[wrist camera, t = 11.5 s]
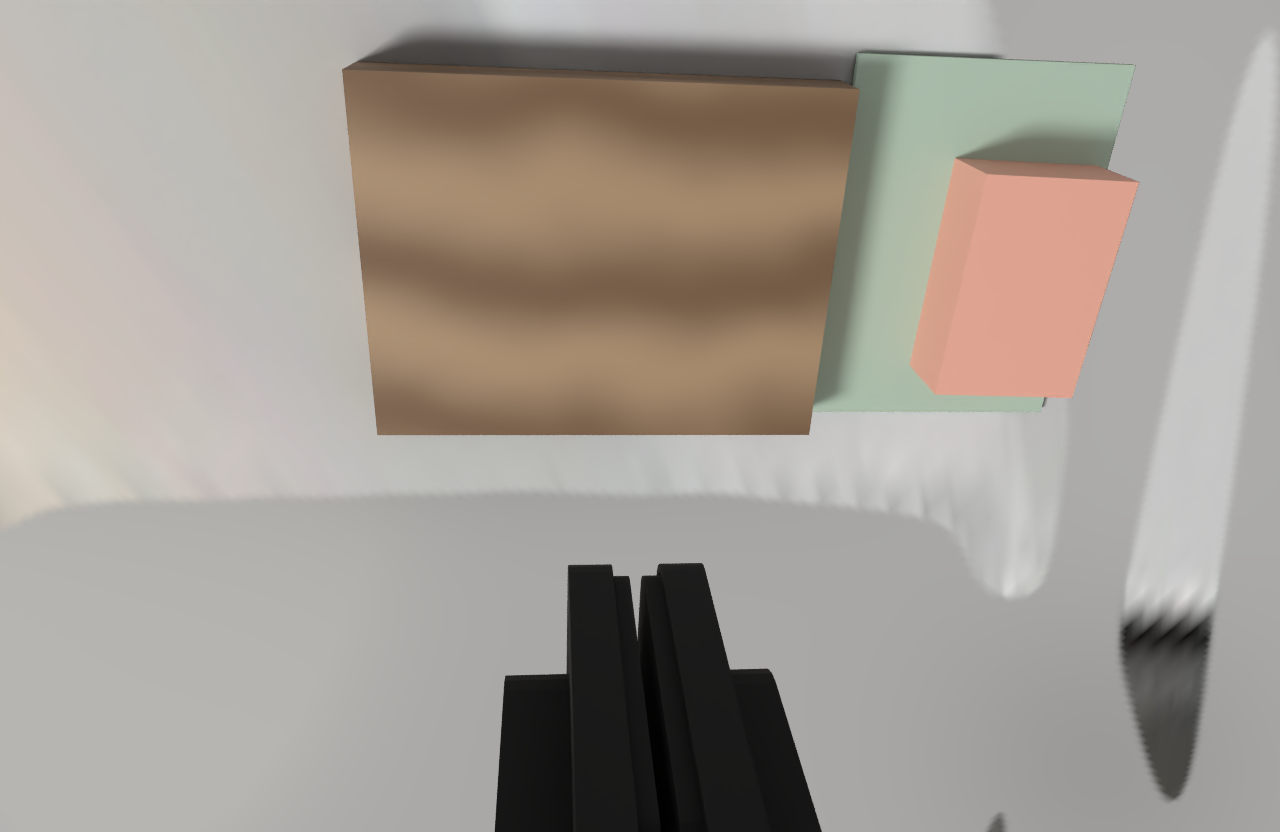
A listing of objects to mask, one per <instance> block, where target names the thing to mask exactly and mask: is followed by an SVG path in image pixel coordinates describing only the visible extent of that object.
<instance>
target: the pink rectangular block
mask: <svg viewBox="0 0 1280 832" xmlns="http://www.w3.org/2000/svg"><path fill="white" fill-rule="evenodd" d="M1138 185H1139V182H1138V181H1135V180H1133V179H1130V178H1127V177H1125V176H1122V175H1120V174H1117V173H1115V172H1112V171H1110V170H1107V169H1104V168H1102V167H1099V166H1097V165H1078V164H1059V163H1040V162H1021V161H1003V160H984V159H965V158H955V160H954V165H953V169H952V174H951V178H950V183H949V188H948V192H947V197H946V201H945V206H944V210H943V215H942V220H941V224H940V229H939V233H938V238H937V242H936V247H935V252H934V256H933V261H932V265H931V270H930V274H929V279H928V283H927V288H926V293H925V297H924V302H923V306H922V311H921V315H920V320H919V325H918V329H917V334H916V338H915V343H914V347H913V352H912V357H911V361H910V366H911V367H912V369H913V370H914V371H915V372H916V373H917V374H918V376H919V377H920V378H921V379H922V380H923V381H924V382H925V384H926V385H927V386H928V387H929V388H930V389H931V390H932V392H933V393H934V394H935V395H973V396H1015V397H1057V398H1072V396H1073V393H1074V390H1075V387H1076V383H1077V380H1078V377H1079V374H1080V371H1081V367H1082V364H1083V361H1084V358H1085V355H1086V351H1087V348H1088V345H1089V342H1090V339H1091V335H1092V332H1093V329H1094V326H1095V323H1096V319H1097V316H1098V313H1099V310H1100V307H1101V303H1102V300H1103V297H1104V294H1105V291H1106V287H1107V284H1108V281H1109V278H1110V275H1111V271H1112V268H1113V265H1114V261H1115V259H1116V255H1117V252H1118V249H1119V246H1120V243H1121V239H1122V236H1123V233H1124V229H1125V227H1126V223H1127V220H1128V217H1129V214H1130V211H1131V207H1132V204H1133V201H1134V197H1135V195H1136V191H1137V188H1138Z"/></svg>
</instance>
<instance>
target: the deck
mask: <svg viewBox="0 0 1280 832" xmlns="http://www.w3.org/2000/svg"><path fill="white" fill-rule="evenodd" d="M342 73H343V83H344V93H345V104H346V114H347V124H348V135H349V145H350V155H351V166H352V176H353V187H354V197H355V207H356V218H357V228H358V238H359V249H360V259H361V270H362V280H363V290H364V301H365V311H366V321H367V332H368V342H369V352H370V363H371V373H372V384H373V394H374V404H375V415H376V425H377V435H809V431H810V424H811V417H812V410H813V404H814V397H815V390H816V383H817V376H818V370H819V363H820V356H821V349H822V343H823V336H824V329H825V322H826V315H827V309H828V302H829V295H830V288H831V282H832V275H833V268H834V261H835V254H836V248H837V241H838V234H839V227H840V221H841V214H842V207H843V200H844V193H845V187H846V180H847V173H848V166H849V159H850V153H851V146H852V139H853V132H854V126H855V119H856V112H857V105H858V98H859V92H860V89H858V88H856V87H854V86H852V85H849V84H847V83H845V82H842V81H840V80H816V79H790V78H765V77H739V76H713V75H687V74H661V73H636V72H610V71H584V70H558V69H533V68H507V67H481V66H455V65H430V64H404V63H378V62H355V63H353V64H351V65H349V66H348V67H346V68H344V69H342Z"/></svg>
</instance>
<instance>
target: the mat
mask: <svg viewBox="0 0 1280 832" xmlns="http://www.w3.org/2000/svg"><path fill="white" fill-rule="evenodd" d="M1135 66H1136V65H1132V64H1109V63H1086V62H1061V61H1037V60H1014V59H991V58H967V57H943V56H919V55H895V54H871V53H857V55H856V62H855V69H854V76H853V83H852V86H854V87H856V88H858V89H860V92H859V98H858V105H857V112H856V119H855V126H854V132H853V139H852V146H851V153H850V159H849V166H848V173H847V180H846V187H845V193H844V200H843V207H842V214H841V221H840V227H839V234H838V241H837V248H836V254H835V261H834V268H833V275H832V282H831V288H830V295H829V302H828V309H827V315H826V322H825V329H824V336H823V343H822V349H821V356H820V363H819V370H818V376H817V383H816V390H815V397H814V404H813V410H812V412H1041V408H1042V405H1043V401H1044V397H1015V396H973V395H935V394H934V393H933V392H932V390H931V389H930V388H929V387H928V386H927V385H926V384H925V382H924V381H923V380H922V379H921V378H920V377H919V376H918V374H917V373H916V372H915V371H914V370H913V369H912V367H911V366H910V361H911V357H912V352H913V347H914V343H915V338H916V334H917V329H918V325H919V320H920V315H921V311H922V306H923V302H924V297H925V293H926V288H927V283H928V279H929V274H930V270H931V265H932V261H933V256H934V252H935V247H936V242H937V238H938V233H939V229H940V224H941V220H942V215H943V210H944V206H945V201H946V197H947V192H948V188H949V183H950V178H951V174H952V169H953V165H954V160H955V158H965V159H984V160H1003V161H1021V162H1040V163H1059V164H1078V165H1097V166H1099V167H1102V168H1104V169H1107V168H1108V165H1109V161H1110V157H1111V154H1112V150H1113V146H1114V143H1115V139H1116V135H1117V132H1118V128H1119V125H1120V121H1121V117H1122V113H1123V110H1124V106H1125V103H1126V99H1127V95H1128V92H1129V88H1130V84H1131V81H1132V77H1133V73H1134V70H1135Z"/></svg>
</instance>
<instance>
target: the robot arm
mask: <svg viewBox="0 0 1280 832" xmlns="http://www.w3.org/2000/svg"><path fill="white" fill-rule="evenodd" d="M638 626H639V627H638V642H637V634H636V626H635V618H634V610H633V602H632V594H631V586H630V579H629V576H613V571H612V565H569V566H568V602H567V674H552V675H551V674H550V675H513V676H505V682H504V696H503V711H502V727H501V743H500V759H499V776H498V790H497V805H496V821H495V832H822V831H821V828H820V825H819V822H818V818H817V815H816V812H815V808H814V805H813V802H812V799H811V796H810V792H809V789H808V786H807V782H806V779H805V776H804V773H803V769H802V766H801V763H800V760H799V757H798V753H797V750H796V747H795V743H794V740H793V737H792V734H791V731H790V727H789V724H788V721H787V717H786V715H785V711H784V708H783V705H782V702H781V698H780V695H779V691H778V689H777V685H776V682H775V680H774V677H773V675H772V673H771V672H770V670H769V669H738V670H730V668H729V664H728V660H727V656H726V652H725V648H724V644H723V640H722V636H721V632H720V628H719V624H718V620H717V616H716V612H715V608H714V604H713V600H712V596H711V592H710V588H709V584H708V580H707V576H706V572H705V568H704V565H703V564H702V563H685V564H684V563H681V564H659V565H658V569H657V576H642V579H641V590H640V607H639V624H638Z"/></svg>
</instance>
